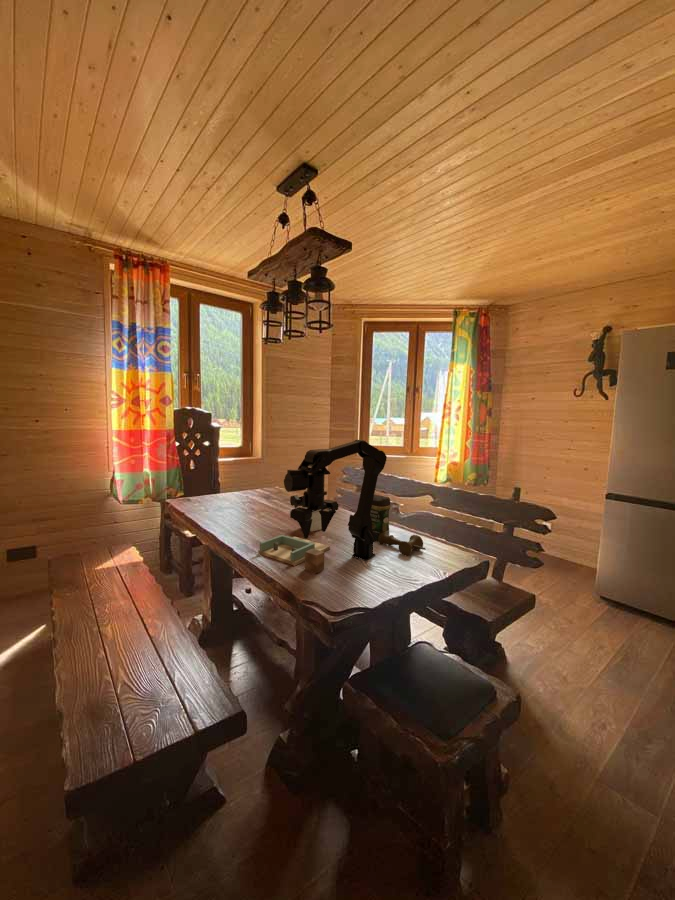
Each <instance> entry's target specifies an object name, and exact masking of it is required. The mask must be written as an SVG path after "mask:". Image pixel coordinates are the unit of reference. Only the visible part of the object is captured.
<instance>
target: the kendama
mask: <svg viewBox="0 0 675 900" xmlns="http://www.w3.org/2000/svg"><path fill="white" fill-rule="evenodd" d="M377 542H378V544H379V545H381V546H382V545H387V546H388V547H392V546H398V551H399V553H400V554H401V555H402V556H405V555H406V556H405V557H409V556H411V554H412V552H413V550H415V551H420V550H422V551H423V550H424V551H425V550H427V549H426V547H424V541H423V538H422V537H421V536H420V535H417V534H412V535H410V537H409V541H406V540H405V541H404V540H401V539H398V538H396V537H394V535H392V534H389V535H386V533H384V532H382V533H381V534H380V535H379V538H378V541H377Z"/></svg>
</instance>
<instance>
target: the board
mask: <svg viewBox="0 0 675 900" xmlns="http://www.w3.org/2000/svg"><path fill="white" fill-rule="evenodd" d="M291 537H292V538H296V539H299V540H303V541H307V542H310V543H314V544H315V549H316V550H319V551H323V552H324V553H325V552H327V551H329V550H330V549H331V546H330V545H327V544H323V543H319V542H316V541H312V540H309V539H305V538H302V537H297V536H291ZM297 549H299V548H295V547H292V546H288V545H285V544H280V545H278V543H277V542H275V543H274V547H272V548H270V549H267V550H264V551H260V549H259V550H258V554H259V555H262V556H264V557H267V558H269V559H270V558H271V559H273V560H276V561H280V562H283V563H285V564H288V565H291V566H294V567H295V566H298V565H300V564H301V563H305V556H304V557H302V558H300V559H297V560H295V561H290V554H291V552H292V551H295V550H297Z"/></svg>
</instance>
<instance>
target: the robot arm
mask: <svg viewBox="0 0 675 900" xmlns="http://www.w3.org/2000/svg"><path fill="white" fill-rule="evenodd" d="M354 454H357V455H358V456H359V457H360V458H361V459H362V467H363V470H364V471H363V472H364V476H363V479H362V480H363V481H362V485H361V489H360V493H359V498H358V504H357V508H356V511H355V513H354V514H350V515H349V519H348V523H347V526H348V532H349V533H350V534H351V538H352V539H354V542H353V550H352V551H353V552H352V553H353V554H351V557H352V558H353V557H354V558H356V559H360V560H364V561H369V560H370V559H372V558H374V557H375V556H376V553H374V543H377V542H378V541H377V538H378V536H377V535H376V534H375V533H374V532H373V531H372V519H371V515H370V512H371V508H372V503H373V498H374V494H376V493H375V492H376V487H377V483H378V479H379V475H380V474H381V472H382V471H383V470H384V468H385V465H386V462H387V455H386V453H385V452H384V451H383V450H380V449H378V448H377V447H375V446H373V445H371V444H370V443H369V442H367V441H366V440H362V439H355V440H353V441H350V442H347V443H344V444H343V443H342V444H340V445H336V446H332V447H330V448H318V449H310V450H307V452H306V453H305V455H304V459H303V460H302V461H301V463H300V464H299V466H298V468H297V469H287V472H286V474H285V475H284V479H283V485H284V489H285V490H286V492H288V493H289V492H290V493H291V492H297V491H299V492H300V491H303V495H301V496H298V494H295V495H291V496H289V498H290V501H289V503H290V505H291V506H292V507H293V506H294V508H292V509H291V510H290V511H289V512H290V513H289V515H290V519H293V521H296V522H297V523H298V524H299V526H300V528H301V532H302V535H303V539H305V540H309V539H308V538H309V535H310V533H311V531H310V528H311V524H312V519H311V517H312V513H315V512H318V511H319V513H320V515H321V527H322V529H321V531H322V532H326V531H327V528H328V526H329V524H330V522H331V521H332V518H333V517H334V516H335V514H336V513H337V511H338V510H339V503H338V502H337V500H330V499H325V496H326V495H328V491H325V477H326V476H327V475H330V474H331V471H329V470H328V469H327V467H329V466H331V464H333V462H335V461H336V460H340V459H343V458H346V457H349V456H352V455H354ZM302 507H307V509H305V508H302Z"/></svg>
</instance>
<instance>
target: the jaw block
mask: <svg viewBox="0 0 675 900" xmlns="http://www.w3.org/2000/svg"><path fill="white" fill-rule="evenodd" d="M304 569H305V570H306V571H309V572H312V573H315V574H318V573H319V572H321V571H323V570H325V552H323V551H319V550H316V549H311V550H308V551H306V552H305V561H304Z"/></svg>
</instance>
